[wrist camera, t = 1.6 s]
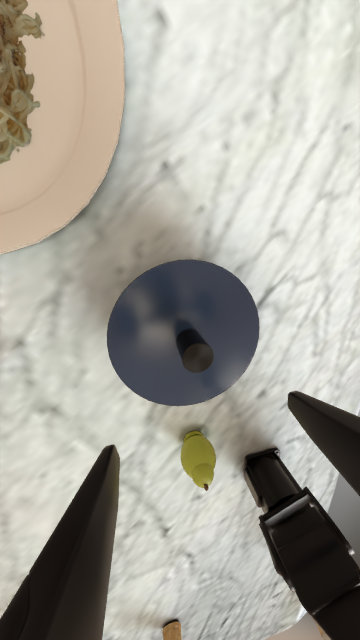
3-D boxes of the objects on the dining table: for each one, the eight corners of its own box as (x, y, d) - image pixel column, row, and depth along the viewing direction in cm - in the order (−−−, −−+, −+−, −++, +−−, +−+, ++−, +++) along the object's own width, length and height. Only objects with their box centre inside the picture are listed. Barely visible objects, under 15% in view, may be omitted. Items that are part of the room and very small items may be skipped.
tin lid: (254, 252, 17) (292, 244, 12) (252, 384, 21) (280, 414, 16) (91, 270, 15) (65, 268, 10) (126, 411, 19) (119, 454, 14)
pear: (207, 422, 26) (225, 470, 20) (209, 446, 28) (227, 497, 21) (176, 430, 26) (184, 481, 19) (180, 454, 27) (188, 509, 21)
